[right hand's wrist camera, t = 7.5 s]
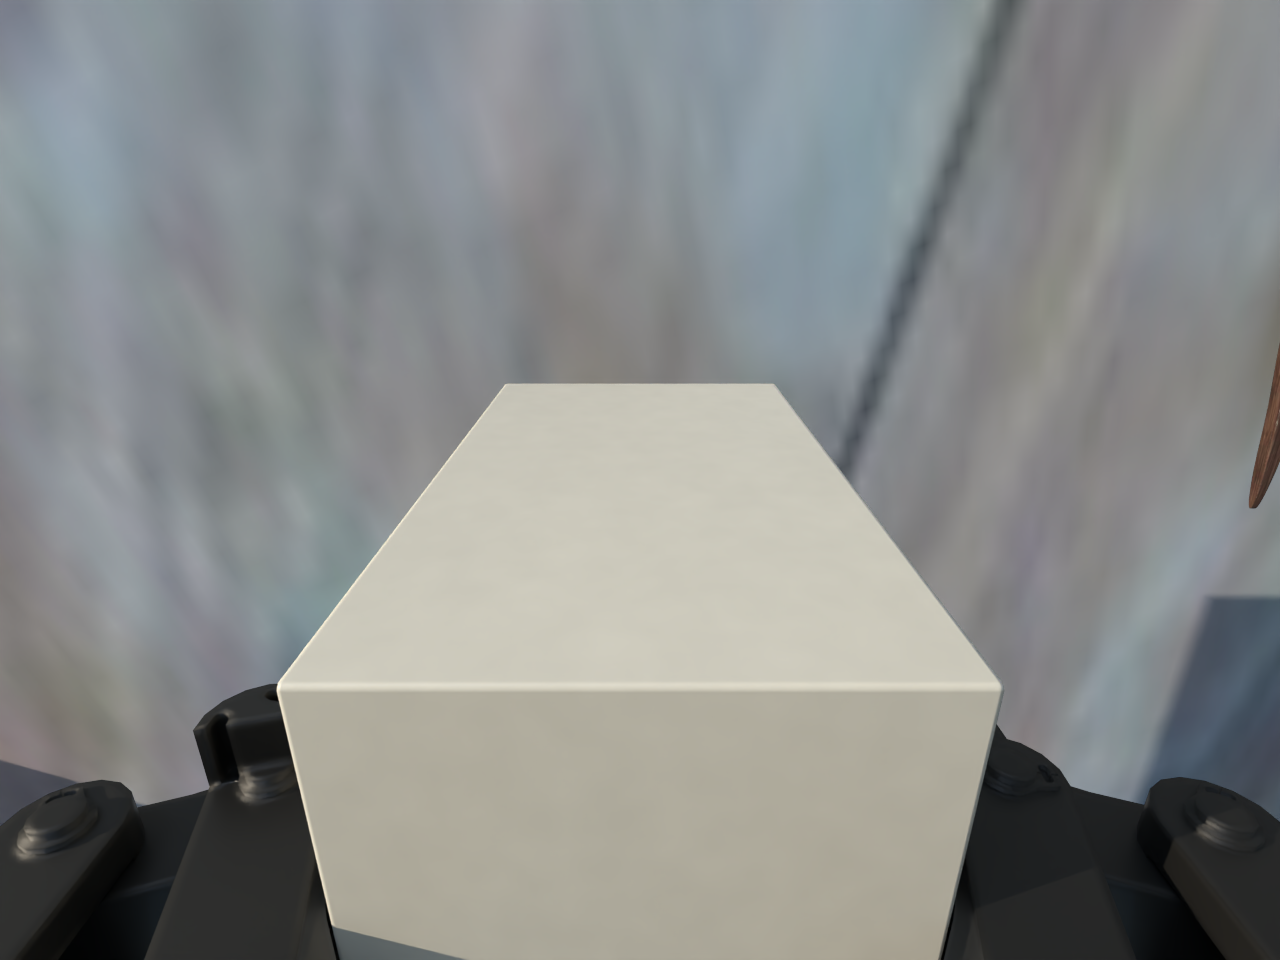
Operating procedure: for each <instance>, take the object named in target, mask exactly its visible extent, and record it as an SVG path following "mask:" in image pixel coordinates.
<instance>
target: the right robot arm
mask: <svg viewBox="0 0 1280 960" xmlns="http://www.w3.org/2000/svg"><path fill="white" fill-rule="evenodd" d="M277 686H278V684H268V685H265V686H261V687H257V688H253V689H249V690H246V691H244V692H241V693H239V694H237V695H235V696H233V697H231V698H229V699H227V700H224V701H223V702H221V703H220V704H219V705H217V706H216V707H215V708H213V709H212V710H211V711H209V712H208V713H207V714H205V715H204V717H203V718H202V719H201V721H200V722H199V723H198V725H197V726H196V727H195V729H194V730H193V732H194V735H195V739H196V742H197V746H198V749H199V752H200V756H201V759H202V762H203V766H204V769H205V773H206V776H207V779H208V783H209V786H210V787H209V790H206V791H202V792H199V793H196V794H193V795H189V796H184V797H180V798H176V799H172V800H167V801H163V802H159V803H155V804H150V805H146V806H142V807H138V808H137V806H136V803H135V800H134V797H133V795H132V792H131V791H130V790H129V789H128V788H127V787H125V786H124V785H123V784H122V783H121V782H113V781H106V780H97V781H91V782H85V783H78V784H75V785H72V786H69V787H66V788H64V789H61V790H58V791H55V792H52V793H50V794H48V795H46V796H44V797H42V798H40V799H39V800H37V801H35V802H33V803H32V804H30V805H28V806H26V807H24V808H23V809H21V810H20V811H19V812H17V813H16V814H15V815H14V816H12V817H11V818H10V819H9V820H7V821H6V822H5V823H4V824H3V825H1V826H0V960H340V958H339V954H338V950H337V945H336V941H335V937H334V933H333V928H332V924H331V920H330V916H329V911H328V907H327V903H326V899H325V894H324V890H323V886H322V882H321V877H320V873H319V869H318V865H317V860H316V856H315V852H314V848H313V843H312V839H311V835H310V831H309V826H308V822H307V818H306V814H305V809H304V805H303V801H302V797H301V792H300V788H299V784H298V780H297V775H296V771H295V767H294V763H293V758H292V754H291V750H290V746H289V741H288V737H287V733H286V729H285V724H284V720H283V716H282V712H281V707H280V703H279V699H278V695H277ZM941 960H1280V822H1279V821H1278V820H1277V819H1276V818H1274V817H1273V816H1272V815H1271V814H1269V813H1268V812H1267V811H1266V810H1264V809H1263V808H1262V807H1261V806H1259V805H1257V804H1255V803H1254V802H1252V801H1250V800H1248V799H1246V798H1245V797H1243V796H1241V795H1239V794H1237V793H1236V792H1234V791H1231V790H1229V789H1226V788H1223V787H1220V786H1218V785H1215V784H1212V783H1209V782H1206V781H1202V780H1196V779H1189V778H1183V777H1177V778H1170V779H1163V780H1160V781H1159V782H1158V783H1156V784H1155V785H1154V786H1153V787H1152V788H1150V791H1149V794H1148V796H1147V799H1146V802H1145V805H1142V804H1138V803H1134V802H1129V801H1125V800H1121V799H1117V798H1112V797H1108V796H1104V795H1100V794H1095V793H1091V792H1088V791H1084V790H1081V789H1078V788H1074V787H1071V786H1070V785H1069V783H1068V781H1067V780H1066V778H1065V777H1064V775H1063V774H1062V772H1061V771H1060V769H1059V768H1057V767H1056V766H1055V765H1054V764H1053V763H1052V762H1050V761H1049V760H1048V759H1047V758H1046V757H1044V756H1043V755H1042V754H1040V753H1038V752H1036V751H1035V750H1033V749H1031V748H1029V747H1027V746H1025V745H1023V744H1021V743H1018V742H1015V741H1011V740H1008V739H1006V737H1005V736H1004V734H1003V733H1002V731H1001V730H1000V728H999V727H998V726H997V724H996V728H995V732H994V736H993V741H992V745H991V749H990V753H989V758H988V762H987V766H986V770H985V775H984V779H983V783H982V787H981V791H980V796H979V800H978V804H977V808H976V813H975V817H974V821H973V825H972V830H971V834H970V838H969V842H968V847H967V851H966V855H965V859H964V863H963V868H962V872H961V876H960V880H959V885H958V889H957V893H956V897H955V902H954V906H953V910H952V914H951V919H950V923H949V927H948V931H947V935H946V940H945V944H944V948H943V952H942V957H941Z"/></svg>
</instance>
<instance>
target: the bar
mask: <svg viewBox="0 0 1280 960" xmlns="http://www.w3.org/2000/svg"><path fill="white" fill-rule="evenodd" d="M1003 694H1004V686H1003V683H1002V681H1001V680H1000V679H999V677H998V676H997V675H996V673H995V672H994V671H993V670H992V668H991V667H990V666H989V664H988V663H987V662H986V660H985V659H984V658H983V656H982V655H981V654H980V653H979V651H978V650H977V649H976V647H975V646H974V645H973V643H972V642H971V641H970V639H969V638H968V637H967V635H966V634H965V633H964V632H963V630H962V629H961V628H960V626H959V625H958V624H957V622H956V621H955V620H954V618H953V617H952V616H951V615H950V613H949V612H948V611H947V609H946V608H945V607H944V605H943V604H942V603H941V601H940V600H939V599H938V597H937V596H936V595H935V594H934V592H933V591H932V590H931V588H930V587H929V586H928V584H927V583H926V582H925V580H924V579H923V578H922V577H921V575H920V574H919V573H918V571H917V570H916V569H915V567H914V566H913V565H912V563H911V562H910V561H909V559H908V558H907V557H906V556H905V554H904V553H903V552H902V550H901V549H900V548H899V546H898V545H897V544H896V542H895V541H894V540H893V539H892V537H891V536H890V535H889V533H888V532H887V531H886V529H885V528H884V527H883V525H882V524H881V523H880V522H879V520H878V519H877V518H876V516H875V515H874V514H873V512H872V511H871V510H870V508H869V507H868V506H867V504H866V503H865V502H864V501H863V499H862V498H861V497H860V495H859V494H858V493H857V491H856V490H855V489H854V487H853V486H852V485H851V484H850V482H849V481H848V480H847V478H846V477H845V476H844V474H843V473H842V472H841V470H840V469H839V468H838V466H837V465H836V464H835V463H834V461H833V460H832V459H831V457H830V456H829V455H828V453H827V452H826V451H825V449H824V448H823V447H822V446H821V444H820V443H819V442H818V440H817V439H816V438H815V436H814V435H813V434H812V432H811V431H810V430H809V428H808V427H807V426H806V425H805V423H804V422H803V421H802V419H801V418H800V417H799V415H798V414H797V413H796V411H795V410H794V409H793V408H792V406H791V405H790V404H789V402H788V401H787V400H786V398H785V397H784V396H783V394H782V393H781V392H780V391H779V389H778V388H777V387H776V385H775V384H506V385H505V386H504V387H503V388H502V390H501V391H500V392H499V394H498V395H497V396H496V397H495V399H494V400H493V401H492V403H491V404H490V405H489V407H488V408H487V409H486V411H485V412H484V413H483V415H482V416H481V417H480V418H479V420H478V421H477V422H476V424H475V425H474V426H473V428H472V429H471V430H470V432H469V433H468V434H467V436H466V437H465V438H464V440H463V441H462V442H461V443H460V445H459V446H458V447H457V449H456V450H455V451H454V453H453V454H452V455H451V457H450V458H449V459H448V461H447V462H446V463H445V464H444V466H443V467H442V468H441V470H440V471H439V472H438V474H437V475H436V476H435V478H434V479H433V480H432V482H431V483H430V484H429V485H428V487H427V488H426V489H425V491H424V492H423V493H422V495H421V496H420V497H419V499H418V500H417V501H416V503H415V504H414V505H413V506H412V508H411V509H410V510H409V512H408V513H407V514H406V516H405V517H404V518H403V520H402V521H401V522H400V524H399V525H398V526H397V527H396V529H395V530H394V531H393V533H392V534H391V535H390V537H389V538H388V539H387V541H386V542H385V543H384V545H383V546H382V547H381V548H380V550H379V551H378V552H377V554H376V555H375V556H374V558H373V559H372V560H371V562H370V563H369V564H368V566H367V567H366V568H365V569H364V571H363V572H362V573H361V575H360V576H359V577H358V579H357V580H356V581H355V583H354V584H353V585H352V587H351V588H350V589H349V590H348V592H347V593H346V594H345V596H344V597H343V598H342V600H341V601H340V602H339V604H338V605H337V606H336V608H335V609H334V610H333V612H332V613H331V614H330V615H329V617H328V618H327V619H326V621H325V622H324V623H323V625H322V626H321V627H320V629H319V630H318V631H317V633H316V634H315V635H314V636H313V638H312V639H311V640H310V642H309V643H308V644H307V646H306V647H305V648H304V650H303V651H302V652H301V654H300V655H299V656H298V657H297V659H296V660H295V661H294V663H293V664H292V665H291V667H290V668H289V669H288V671H287V672H286V673H285V675H284V676H283V677H282V678H281V680H280V681H279V682H278V686H277V695H278V699H279V703H280V707H281V712H282V716H283V720H284V724H285V729H286V733H287V737H288V741H289V746H290V750H291V754H292V758H293V763H294V767H295V771H296V775H297V780H298V784H299V788H300V792H301V797H302V801H303V805H304V809H305V814H306V818H307V822H308V826H309V831H310V835H311V839H312V843H313V848H314V852H315V856H316V860H317V865H318V869H319V873H320V877H321V882H322V886H323V890H324V894H325V899H326V903H327V907H328V911H329V916H330V920H331V924H332V928H333V933H334V937H335V941H336V945H337V950H338V954H339V958H340V960H941V957H942V952H943V948H944V944H945V940H946V935H947V931H948V927H949V923H950V919H951V914H952V910H953V906H954V902H955V897H956V893H957V889H958V885H959V880H960V876H961V872H962V868H963V863H964V859H965V855H966V851H967V847H968V842H969V838H970V834H971V830H972V825H973V821H974V817H975V813H976V808H977V804H978V800H979V796H980V791H981V787H982V783H983V779H984V775H985V770H986V766H987V762H988V758H989V753H990V749H991V745H992V741H993V736H994V732H995V728H996V724H997V719H998V715H999V711H1000V707H1001V703H1002V698H1003Z"/></svg>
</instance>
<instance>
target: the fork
mask: <svg viewBox="0 0 1280 960" xmlns="http://www.w3.org/2000/svg"><path fill="white" fill-rule="evenodd" d="M1279 462H1280V345H1279V350H1278V355H1277V360H1276V366H1275V371H1274V377H1273V382H1272V388H1271V393H1270V399H1269V404H1268V409H1267V414H1266V418H1265V423H1264V427H1263V432H1262V436H1261V440H1260V444H1259V448H1258V453H1257V457H1256V462H1255V466H1254V471H1253V477H1252V482H1251V488H1250V496H1249V508H1257V506H1258V505H1259V504H1260V502H1261V500H1262V499H1263V497H1264V495H1265V493H1266V491H1267V489H1268V487H1269V485H1270V483H1271V480H1272V478H1273V476H1274V474H1275V472H1276V469H1277V467H1278V465H1279Z"/></svg>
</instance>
